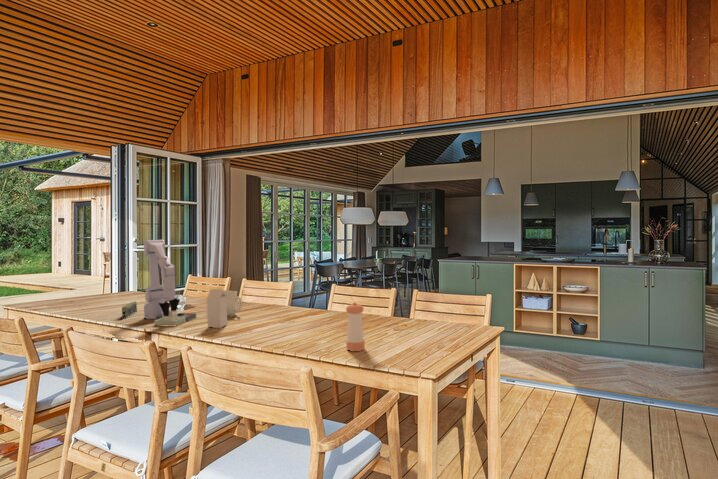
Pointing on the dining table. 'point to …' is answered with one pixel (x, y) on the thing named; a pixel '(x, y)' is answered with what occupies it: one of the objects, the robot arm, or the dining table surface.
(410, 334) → the dining table surface
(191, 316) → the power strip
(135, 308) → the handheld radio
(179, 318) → the tray
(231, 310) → the pitcher
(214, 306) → the milk carton
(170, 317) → the plug
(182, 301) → the clip
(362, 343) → the pepper shaker
